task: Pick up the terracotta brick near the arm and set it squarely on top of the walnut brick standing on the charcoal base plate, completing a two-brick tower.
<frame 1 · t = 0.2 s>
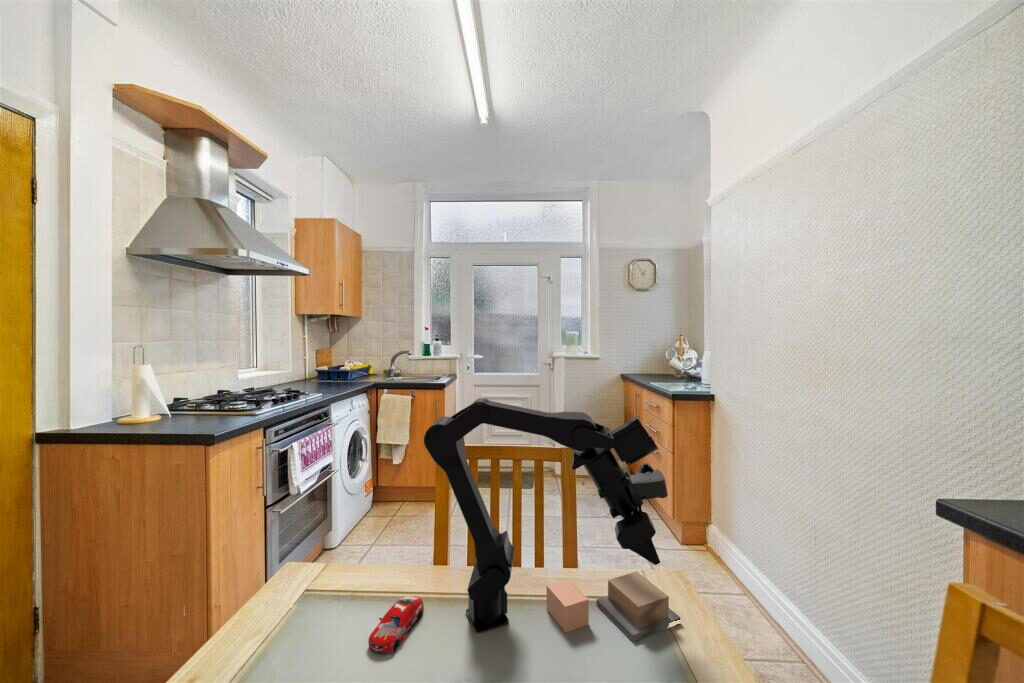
hand: (652, 548, 83), 15 cm above the table, tool tilted 30°, fingers open, 9 cm apart
tower base: (637, 614, 87), on the table
terracotta brick: (567, 617, 87), on the table
race car: (397, 632, 84), on the table
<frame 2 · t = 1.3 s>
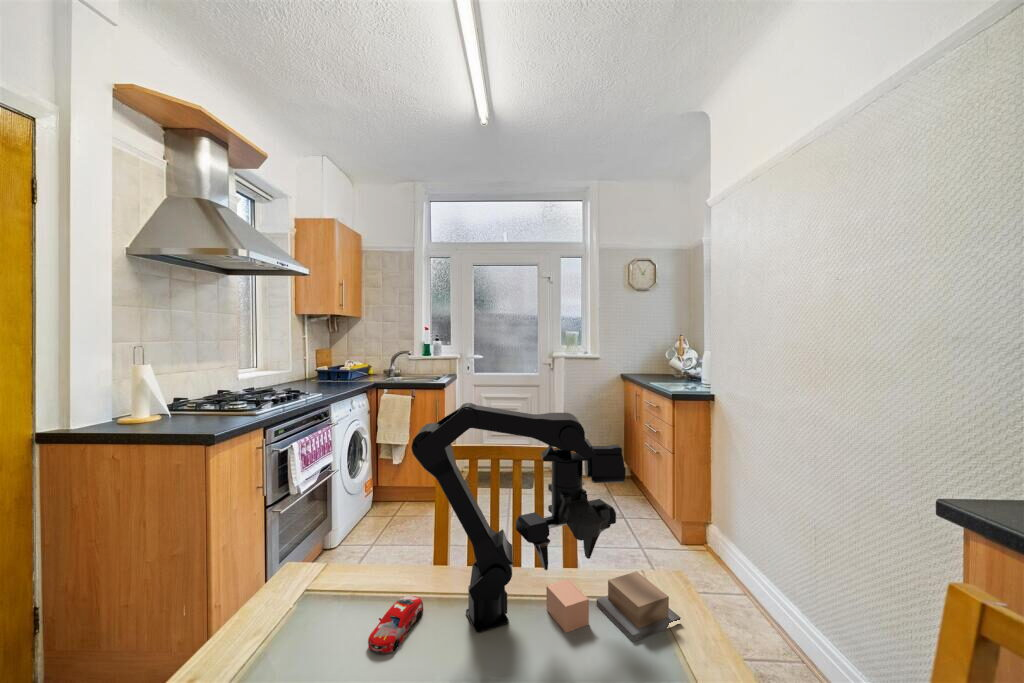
hand: (566, 563, 86), 10 cm above the table, tool pointing down, fingers open, 9 cm apart
nothing on the table moved.
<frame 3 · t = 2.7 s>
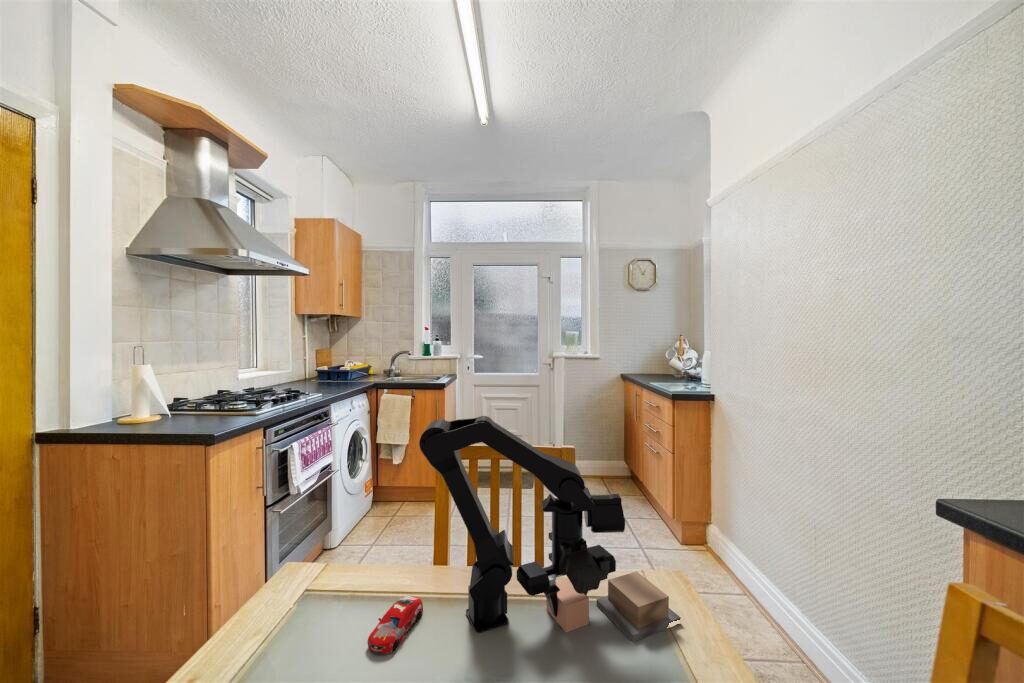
hand: (567, 611, 87), 1 cm above the table, tool pointing down, fingers closed on terracotta brick, 5 cm apart
terracotta brick: (567, 616, 87), on the table, touching gripper
everything else where it was.
when the fingers open (8 cm above the table, at t = 6.0 s): terracotta brick drops 1 cm, resting on tower base.
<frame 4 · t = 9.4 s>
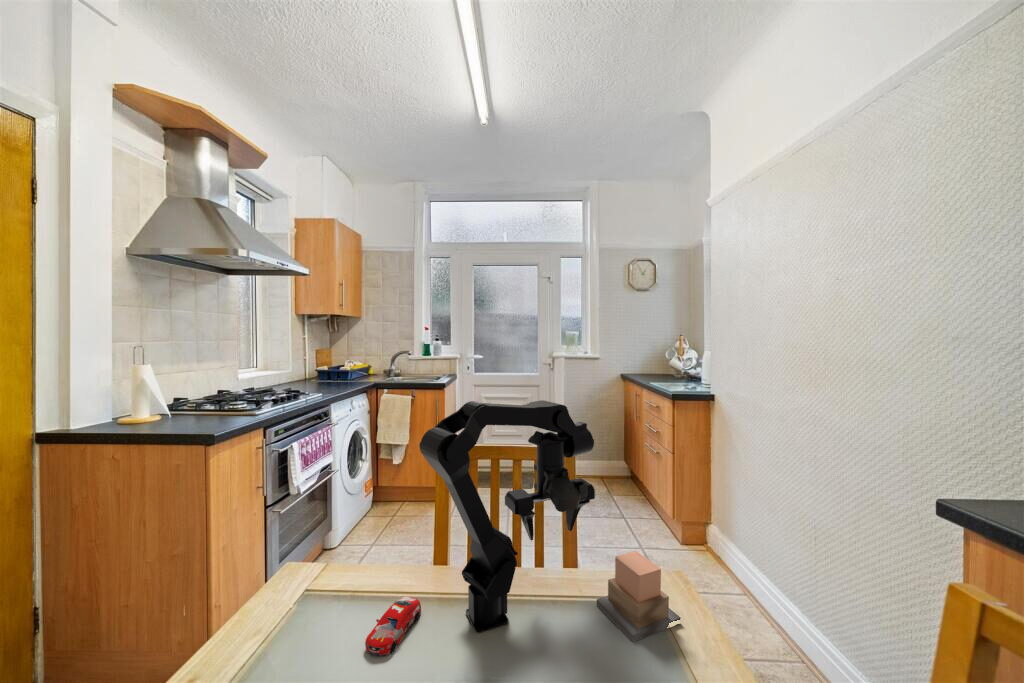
hand: (550, 534, 96), 11 cm above the table, tool pointing down, fingers open, 9 cm apart
terracotta brick: (637, 588, 87), point 5 cm above the table, touching tower base
everything else where it was.
at the end: terracotta brick 0.0 cm off-centre on the tower base, point 5.2 cm above the tower base's base; terracotta brick tilted 0°; the gripper is holding nothing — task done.
